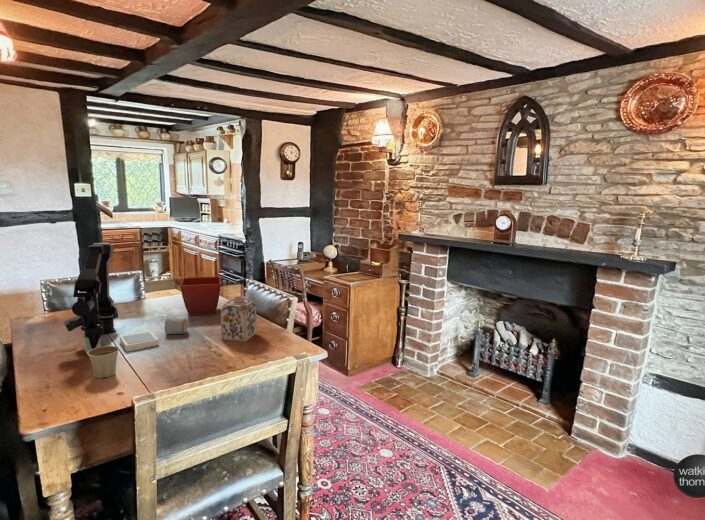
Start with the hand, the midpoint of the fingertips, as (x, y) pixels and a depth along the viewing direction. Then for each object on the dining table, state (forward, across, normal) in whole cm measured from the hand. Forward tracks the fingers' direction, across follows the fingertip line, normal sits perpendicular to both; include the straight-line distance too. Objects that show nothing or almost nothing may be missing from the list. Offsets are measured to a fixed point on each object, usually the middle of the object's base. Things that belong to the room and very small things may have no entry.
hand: (92, 346), depth 164 cm
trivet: (+1, +4, +16) cm, 17 cm away
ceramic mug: (+1, -2, +33) cm, 33 cm away
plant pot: (+1, -27, +53) cm, 59 cm away
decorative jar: (+1, +19, +53) cm, 56 cm away
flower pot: (+1, +28, 0) cm, 28 cm away
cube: (+1, 0, 0) cm, 1 cm away
